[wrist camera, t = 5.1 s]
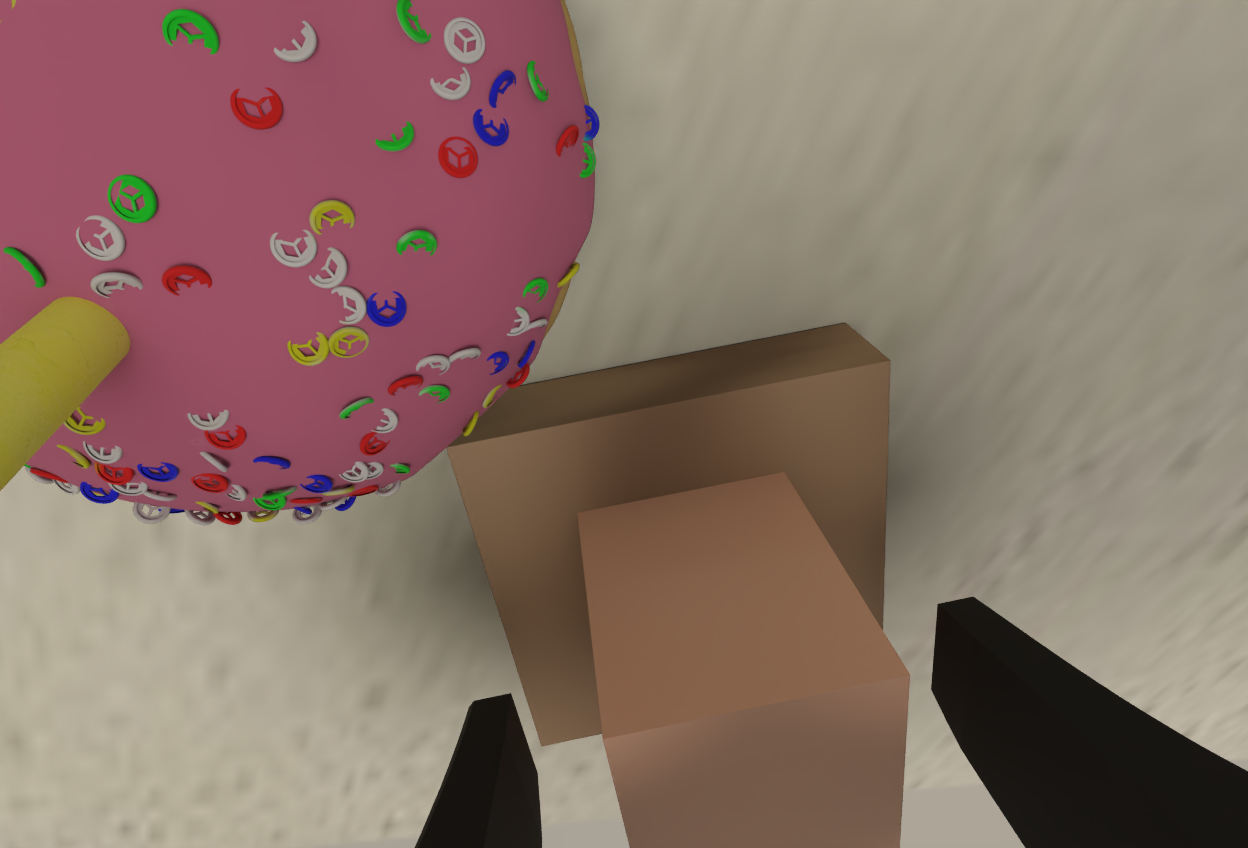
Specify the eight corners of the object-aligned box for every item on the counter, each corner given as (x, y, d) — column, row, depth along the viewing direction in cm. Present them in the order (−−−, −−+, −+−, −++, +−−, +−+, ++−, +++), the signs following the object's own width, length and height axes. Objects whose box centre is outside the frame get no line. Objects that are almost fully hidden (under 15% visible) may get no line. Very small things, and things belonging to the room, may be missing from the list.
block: (792, 625, 15) (899, 855, 11) (610, 663, 15) (645, 911, 11) (783, 471, 13) (909, 674, 9) (577, 512, 13) (603, 739, 9)
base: (845, 323, 14) (890, 360, 13) (847, 614, 18) (881, 674, 16) (455, 398, 14) (446, 447, 12) (540, 678, 18) (541, 746, 16)
